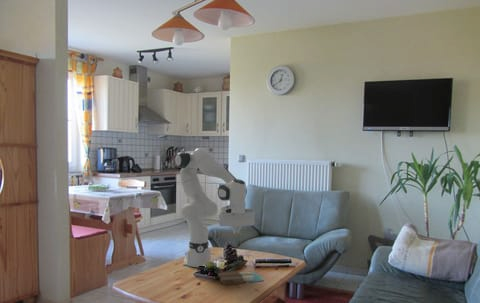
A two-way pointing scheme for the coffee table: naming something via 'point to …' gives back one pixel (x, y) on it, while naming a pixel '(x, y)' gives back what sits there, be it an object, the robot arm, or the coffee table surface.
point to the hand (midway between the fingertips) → (236, 233)
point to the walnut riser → (230, 278)
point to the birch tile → (246, 276)
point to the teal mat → (255, 278)
